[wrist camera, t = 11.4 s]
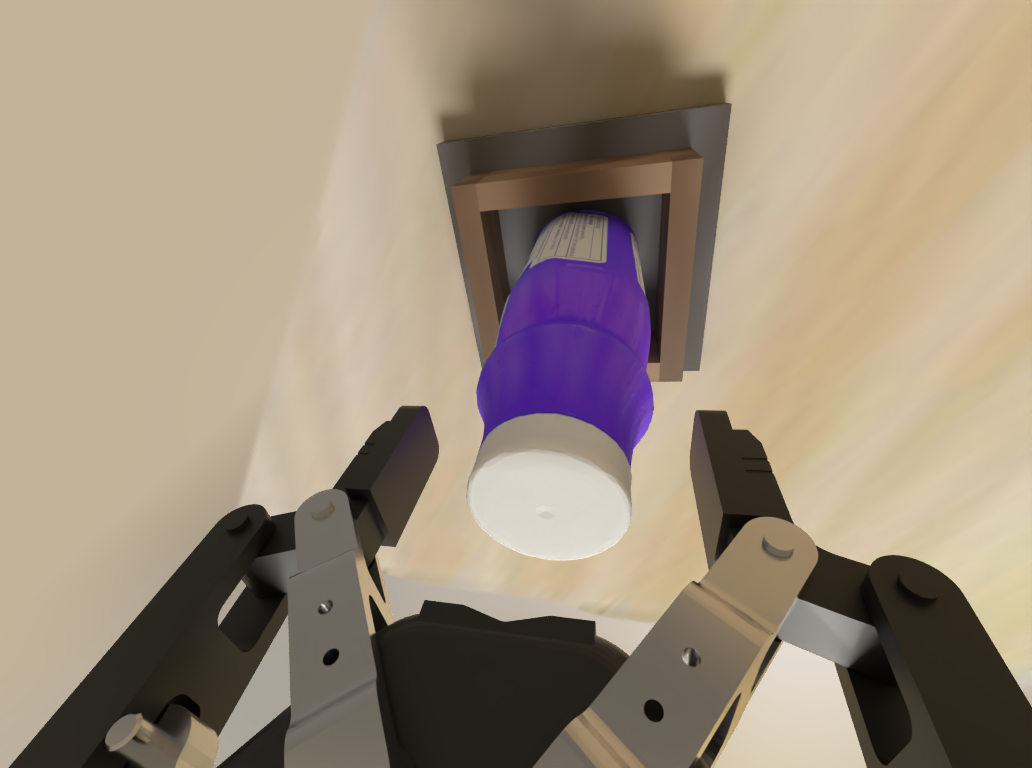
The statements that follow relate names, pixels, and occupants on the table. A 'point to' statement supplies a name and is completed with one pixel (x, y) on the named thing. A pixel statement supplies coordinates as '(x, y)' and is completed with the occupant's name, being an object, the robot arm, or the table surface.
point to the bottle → (566, 394)
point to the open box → (602, 187)
